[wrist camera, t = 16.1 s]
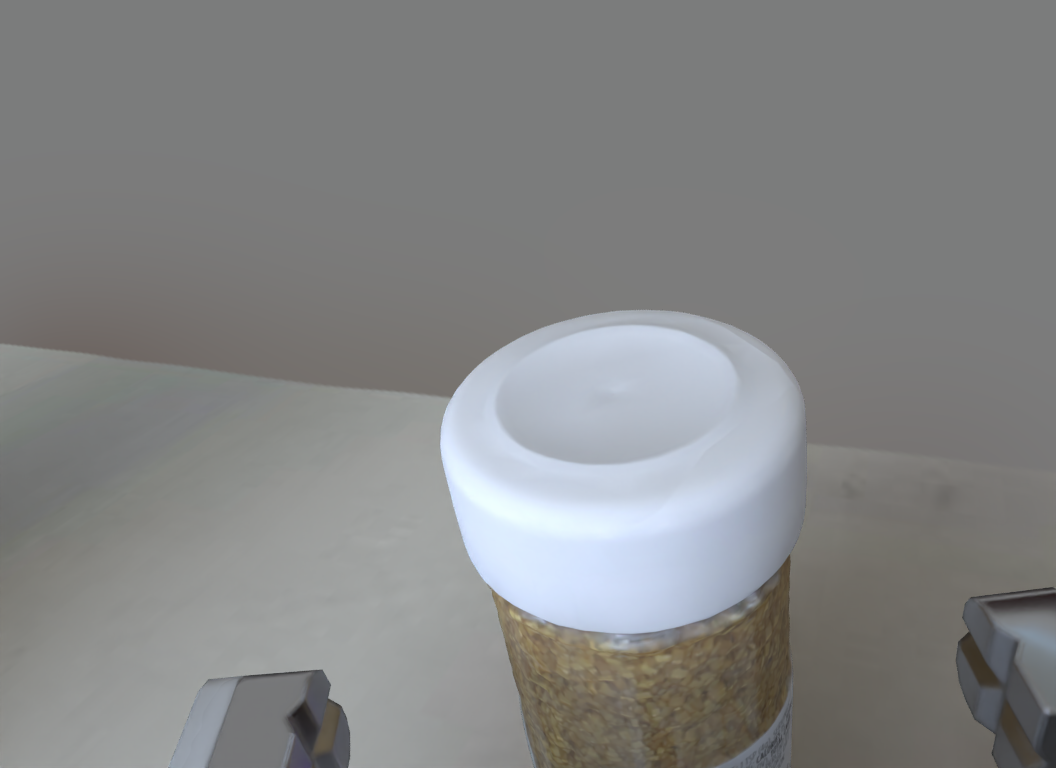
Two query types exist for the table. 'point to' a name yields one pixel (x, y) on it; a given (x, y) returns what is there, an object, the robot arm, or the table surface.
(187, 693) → the table surface
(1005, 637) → the robot arm
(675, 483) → the sprinkles bottle
